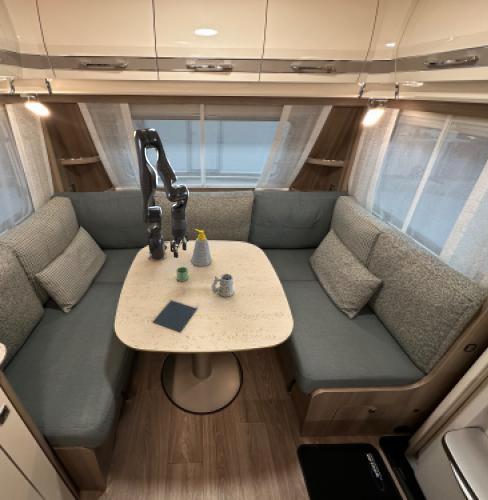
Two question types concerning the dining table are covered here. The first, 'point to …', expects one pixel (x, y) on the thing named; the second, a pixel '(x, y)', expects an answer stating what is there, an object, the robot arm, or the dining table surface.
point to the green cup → (182, 273)
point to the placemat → (175, 316)
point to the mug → (223, 285)
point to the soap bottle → (201, 251)
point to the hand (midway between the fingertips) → (180, 253)
